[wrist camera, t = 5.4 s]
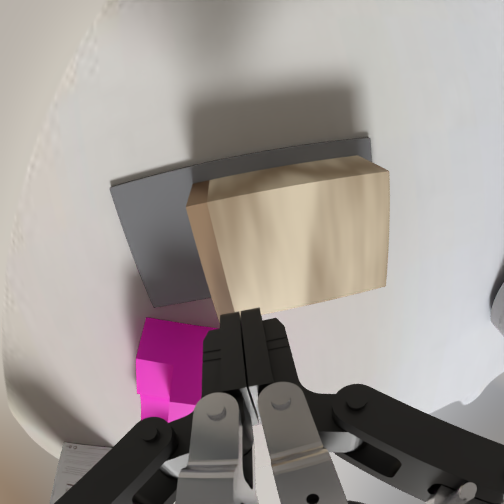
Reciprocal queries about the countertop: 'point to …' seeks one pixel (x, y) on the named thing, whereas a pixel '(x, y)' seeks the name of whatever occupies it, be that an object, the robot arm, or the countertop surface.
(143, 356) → the toy block
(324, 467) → the robot arm
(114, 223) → the countertop surface
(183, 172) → the mat
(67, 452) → the supplement box
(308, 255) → the ash block
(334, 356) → the countertop surface
